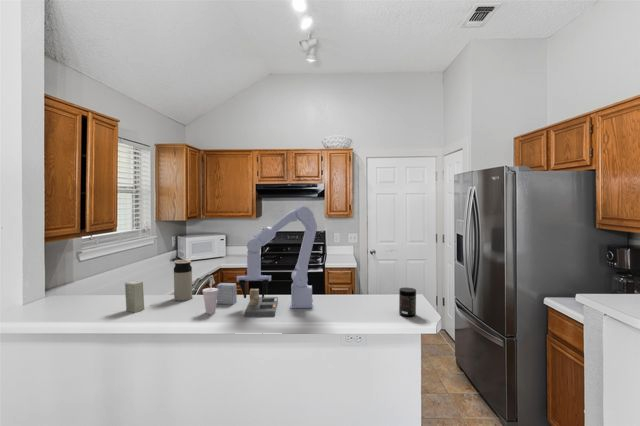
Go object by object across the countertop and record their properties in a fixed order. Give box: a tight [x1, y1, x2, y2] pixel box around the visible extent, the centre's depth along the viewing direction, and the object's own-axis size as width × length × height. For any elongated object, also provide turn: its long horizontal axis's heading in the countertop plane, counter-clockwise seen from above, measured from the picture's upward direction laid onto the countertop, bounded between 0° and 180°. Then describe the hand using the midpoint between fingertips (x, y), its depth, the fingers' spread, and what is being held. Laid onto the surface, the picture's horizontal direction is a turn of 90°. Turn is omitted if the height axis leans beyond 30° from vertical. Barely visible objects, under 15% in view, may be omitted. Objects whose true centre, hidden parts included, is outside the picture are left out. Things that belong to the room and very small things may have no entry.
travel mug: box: [173, 259, 193, 302], centre depth 164 cm, size 8×8×18 cm
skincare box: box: [124, 280, 145, 313], centre depth 147 cm, size 6×4×12 cm
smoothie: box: [202, 278, 218, 315], centre depth 144 cm, size 6×6×14 cm
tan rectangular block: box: [249, 288, 260, 305], centre depth 150 cm, size 4×4×6 cm
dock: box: [244, 296, 279, 317], centre depth 150 cm, size 12×20×2 cm, turn 3°
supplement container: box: [398, 287, 417, 318], centre depth 141 cm, size 7×7×10 cm
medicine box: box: [216, 282, 238, 305], centre depth 158 cm, size 8×4×9 cm, turn 84°
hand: (254, 297), depth 150 cm, fingers open, 7 cm apart
